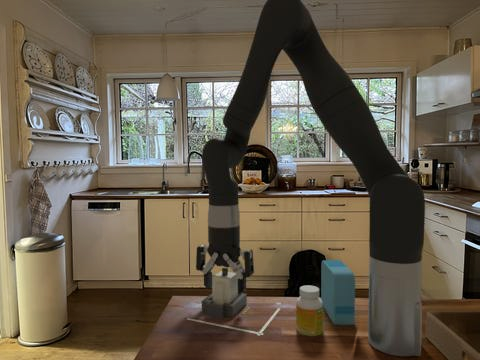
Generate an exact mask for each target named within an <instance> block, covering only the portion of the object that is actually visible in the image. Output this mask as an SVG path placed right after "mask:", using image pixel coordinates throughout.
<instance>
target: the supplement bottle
mask: <svg viewBox="0 0 480 360" xmlns="http://www.w3.org/2000/svg"><path fill="white" fill-rule="evenodd" d="M295 305H296V306H295V307H296V310H295V312H296V313H295V315H296V321H295V322H296V324H295V326H296V331H297V332H298V333H299V334H301V335H303V336H306V337H317V336H320V335H322V333H323V332H324V307H323V302H322V300H321V297H320V288H319V287H317V286H314V285H302V286H300V287H299V297H297V299H296V303H295Z"/></svg>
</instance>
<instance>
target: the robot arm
mask: <svg viewBox="0 0 480 360" xmlns="http://www.w3.org/2000/svg"><path fill="white" fill-rule="evenodd" d="M250 46H251V47H250V49H249V52H248V55H247V58H246V62H245V65H244V68H243V71H242V74H241V76H240V79H239V81H238V84H237V86H236V88H235V91H234V93H233V95H232V96H231V100H230V102H229V104H228V105H227V109H226V111H225V112H224V116H223V117H222V123H223V126H224V128H226V132H225V136H224V137H223V138H220V137H215V138H214V137H213V138H210V139H208V140H207V141H206V142H205V144H204V145H203V149H202V153H201V161H202V166H203V171H204V175H205V179H206V182H207V186H208V211H207V241H208V245H206V244H204V243H203V244H201V245H198V246H197V247H196V259H195V260H196V261H195V269H196V271H197V272H198V271H200V272H202V274H203V286H204V287H205V290H210V289H212V276H213V272H212V270H213V269H214V268H215V266H216V267H223V268H230V269H231V270H232V272H233V273H236V275H237V276H238V294H242V293H243V294H245V293H244V292H245V291H247V278H250V277H251V276H252V275H253V274H255V267H254V266H255V265H254V250H253V249H252V248H249V249H248V250H246V249H242V248H241V247H240V246H241V230H240V229H241V228H240V227H241V224H240V222H241V221H240V220H241V219H240V217H241V215H240V206H239V204H240V203H239V184H238V182H237V180H234V179H232V178H231V177H232V176H231V172H230V169H234V168H236V167H237V166H239V165H240V164H241V162H242V161H243V160H244V158H245V156H246V152H247V150H248V146H249V141H250V137H251V132H252V130H253V128H254V125H255V123H256V121H257V120H258V117H259V116H260V114H261V111H262V109H263V107H264V104H265V102H266V97H267V94H268V90H269V85H270V80H271V77H272V74H273V69H274V67H275V64H276V62H277V59H278V57H279V55H280V53H281V52H282V50H283V52H284V53H285V54H286V56H287V57H288V58H289V60H290V61H291V63H292V64H293V66H294V67H295V68H296V70H297V71H298V74H299V75H300V79H301V80H302V84H303V87H304V90H305V92H306V95H307V98H308V101H309V103H310V105H311V107H312V109H313V111H314V113H315V114H316V116H317V118H318V119H319V121H320V123H321V124H322V125H323V127H324V129H325V131H326V132H327V134H328V135H329V136H330V137H331V139H332V140H333V141H334V143H335V144H336V146H338V148H339V149H340V150H341V151H342V152H343V153H344V155H346V157H347V158H348V159H349V160H350V162H351V163H352V166H354V168H355V170H356V172H357V173H358V175H359V177H360V179H361V181H362V183H363V185H364V187H365V189H366V191H367V194H368V196H369V231H368V232H369V233H368V234H369V235H368V236H369V237H368V245H369V246H368V247H369V253H368V255H369V258H368V261H369V262H368V264H369V265H368V268H369V269H368V329H367V330H368V331H367V332H368V337H367V339H368V343H369V344H370V346H371V347H373V349H375V350H378V351H379V352H382V353H384V354H387V355H390V356H396V357H413V356H415V357H421V356H422V328H423V327H422V325H423V324H422V323H423V320H422V319H423V314H422V313H423V304H422V270H423V269H422V266H423V264H422V261H423V260H422V259H423V248H424V243H425V219H426V216H425V215H426V199H425V194H424V191H423V188H422V186H420V184H419V183H418V182H417V181H416V180H415V179H413V178H412V177H410V176H409V174H407V172H406V171H405V170H404V168H402V166H401V164H400V163H399V162H398V161H397V159H396V158H395V157H394V156H393V154H392V153H391V152H390V150H389V148H388V147H387V145H386V142H385V140H384V138H383V136H382V134H381V131H380V129H379V126H378V124H377V121H376V120H375V118H374V115H373V114H372V111H371V110H370V107H369V105H368V103H367V102H366V101H365V99H364V97H363V95H362V94H361V92H360V91H359V89H358V88H357V86H356V85H355V83H354V82H353V80H352V79H351V78H350V76H349V75H348V74H347V72H346V71H345V70H344V68H343V67H342V66H341V65H340V64H339V62H338V61H337V60H336V59H335V58H334V56H333V55H332V54H331V52H329V50H328V48H327V46H326V45H325V43H324V41H323V39H322V37H321V35H320V33H319V31H318V29H317V26H316V25H315V22H314V20H313V18H312V15H311V12H310V11H309V9H308V7H306V5H305V4H304V3H303V1H302V0H266V2H265V3H264V5H263V6H262V9H261V11H260V15H259V17H258V22H257V25H256V29H255V32H254V36H253V40H252V43H251V45H250ZM207 254H208V255H209V257H210V258H209V260H208V262H207V263H206V256H207ZM240 257H242V260H243V261H244V266H243V263H242V261H241V259H240Z"/></svg>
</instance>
